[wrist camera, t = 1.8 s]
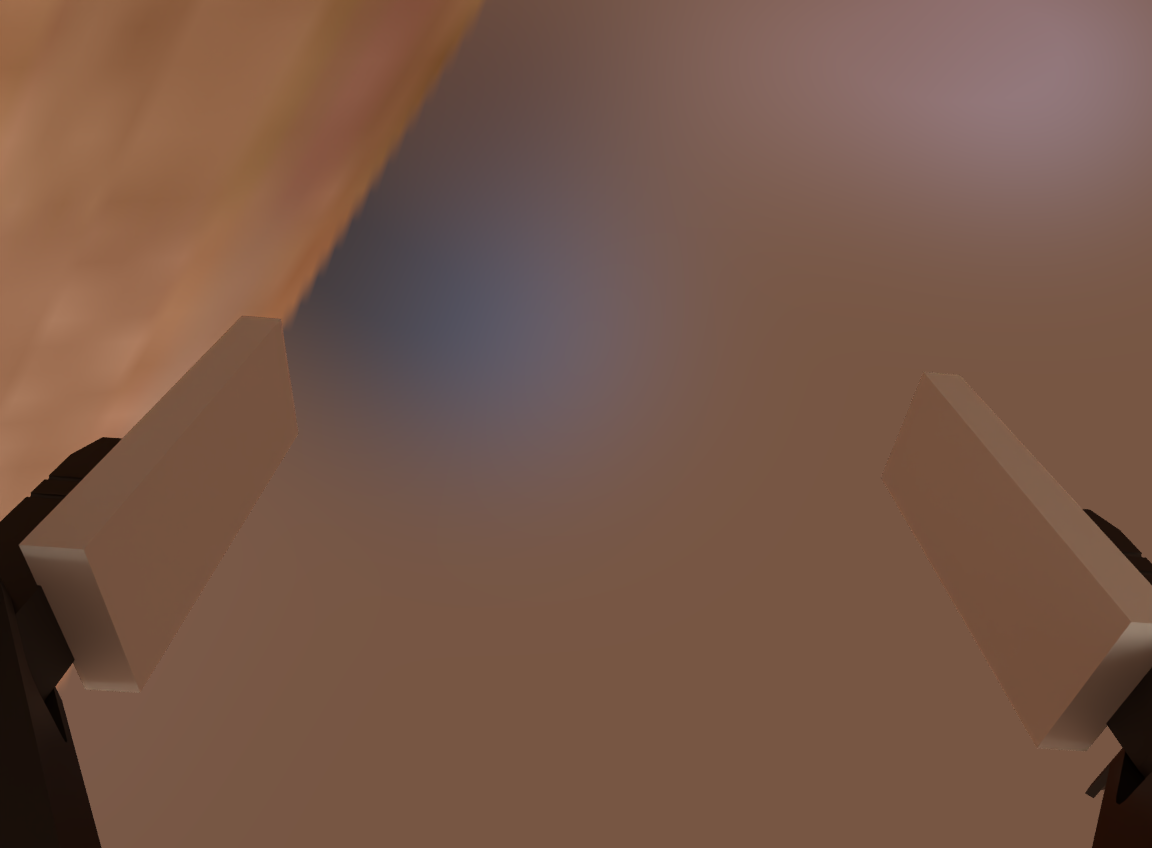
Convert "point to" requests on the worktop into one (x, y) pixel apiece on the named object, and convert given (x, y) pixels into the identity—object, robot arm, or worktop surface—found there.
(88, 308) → the worktop surface
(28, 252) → the worktop surface
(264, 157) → the worktop surface
